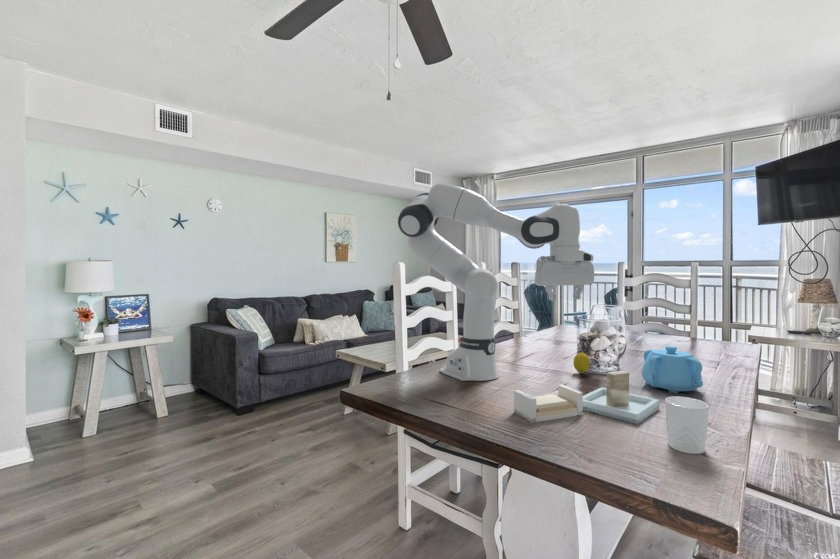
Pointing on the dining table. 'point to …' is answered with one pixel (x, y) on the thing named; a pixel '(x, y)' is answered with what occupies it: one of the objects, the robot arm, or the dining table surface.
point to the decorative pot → (672, 370)
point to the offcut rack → (549, 405)
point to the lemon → (581, 362)
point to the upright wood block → (617, 389)
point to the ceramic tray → (630, 413)
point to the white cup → (686, 424)
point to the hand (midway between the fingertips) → (564, 299)
